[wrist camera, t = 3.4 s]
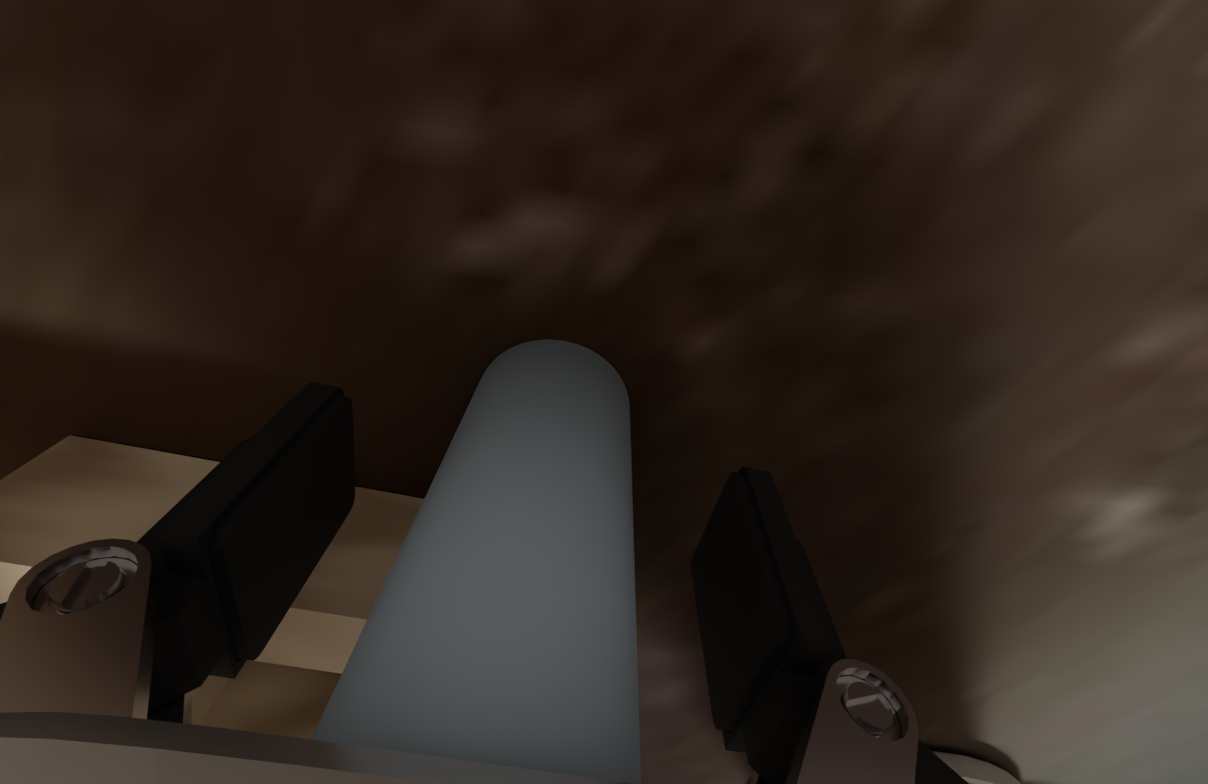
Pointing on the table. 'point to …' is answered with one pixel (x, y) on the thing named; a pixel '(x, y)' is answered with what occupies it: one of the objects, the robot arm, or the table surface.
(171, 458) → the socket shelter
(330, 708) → the peg
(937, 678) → the table surface
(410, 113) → the table surface
